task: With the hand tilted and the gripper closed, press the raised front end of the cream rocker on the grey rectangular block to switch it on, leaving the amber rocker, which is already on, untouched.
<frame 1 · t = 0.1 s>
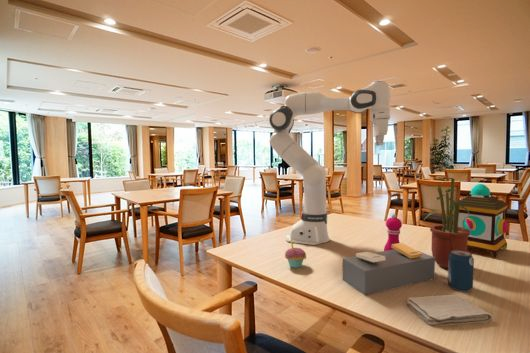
hand: (379, 145, 141), 48 cm above the table, tool pointing down, fingers open, 8 cm apart
pepper mill: (393, 262, 120), on the table
cream rocker: (370, 256, 100), point 10 cm above the table, hinge at -8.0°
decorative lantern: (477, 249, 133), on the table
soda can: (459, 288, 97), on the table
cupcake: (295, 266, 119), on the table
grey rectangular block: (388, 279, 104), on the table
amber rocker: (406, 250, 106), point 10 cm above the table, hinge at 8.0°
washcloth: (445, 314, 83), on the table
potted plant: (443, 264, 117), on the table
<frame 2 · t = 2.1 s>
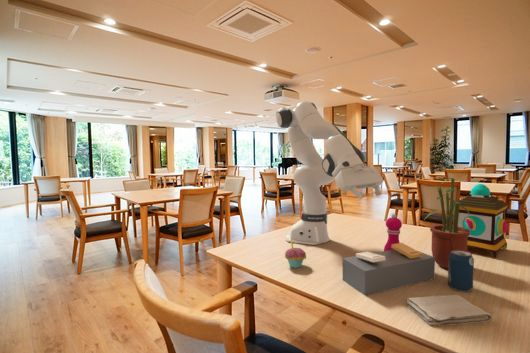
hand: (370, 196, 108), 29 cm above the table, tool tilted 40°, fingers open, 8 cm apart
nothing on the table moved.
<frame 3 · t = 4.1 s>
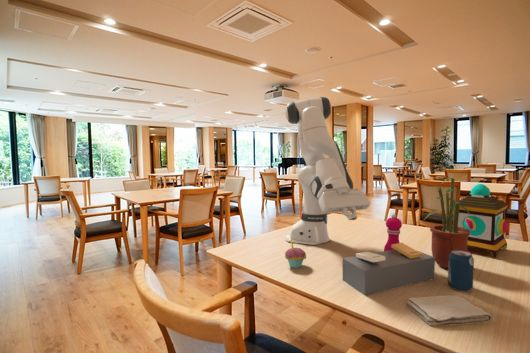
hand: (353, 219, 108), 21 cm above the table, tool tilted 45°, fingers closed
nothing on the table moved.
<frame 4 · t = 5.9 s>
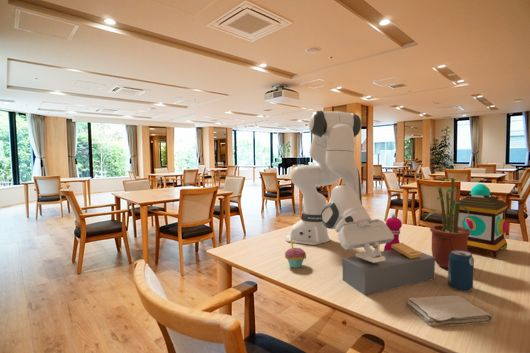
hand: (377, 256, 97), 11 cm above the table, tool tilted 45°, fingers closed, pressing on cream rocker
cream rocker: (370, 256, 100), point 10 cm above the table, hinge at -6.5°, touching gripper
everything else where it was.
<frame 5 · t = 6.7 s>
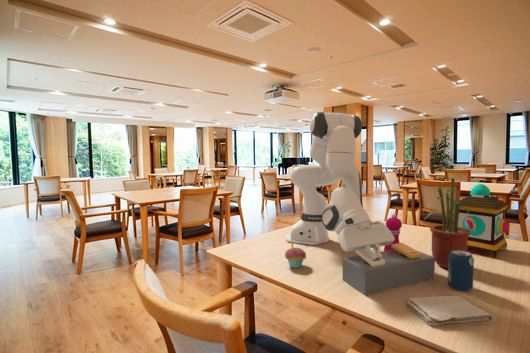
hand: (377, 258, 97), 10 cm above the table, tool tilted 45°, fingers closed, pressing on cream rocker
cream rocker: (370, 256, 100), point 10 cm above the table, hinge at 13.2°, touching gripper, grey rectangular block
everything else where it was.
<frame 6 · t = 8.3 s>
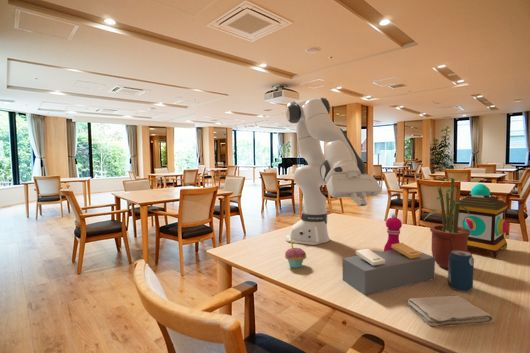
hand: (362, 205, 101), 27 cm above the table, tool tilted 45°, fingers closed
cream rocker: (370, 256, 100), point 10 cm above the table, hinge at 6.9°
everything else where it was.
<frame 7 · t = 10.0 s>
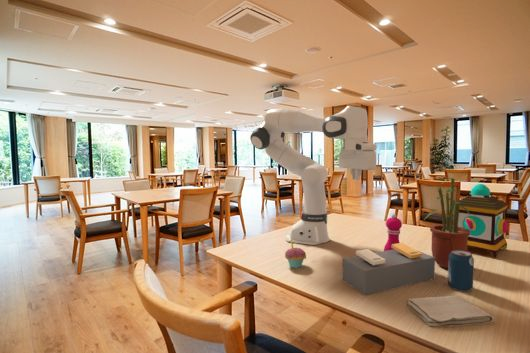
hand: (355, 179, 120), 34 cm above the table, tool pointing down, fingers closed
cream rocker: (370, 256, 100), point 10 cm above the table, hinge at 5.4°
everything else where it was.
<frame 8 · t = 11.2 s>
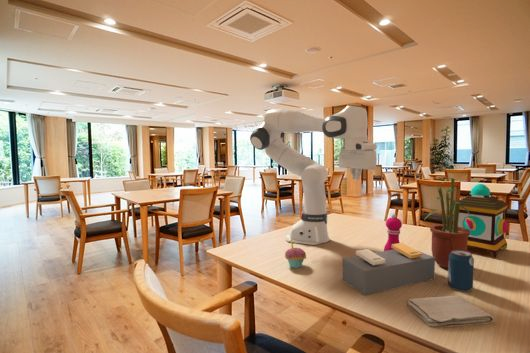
hand: (355, 179, 120), 34 cm above the table, tool pointing down, fingers closed
nothing on the table moved.
at the end: cream rocker at +5° (first picture: -8°); amber rocker at +8° (first picture: +8°) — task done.
